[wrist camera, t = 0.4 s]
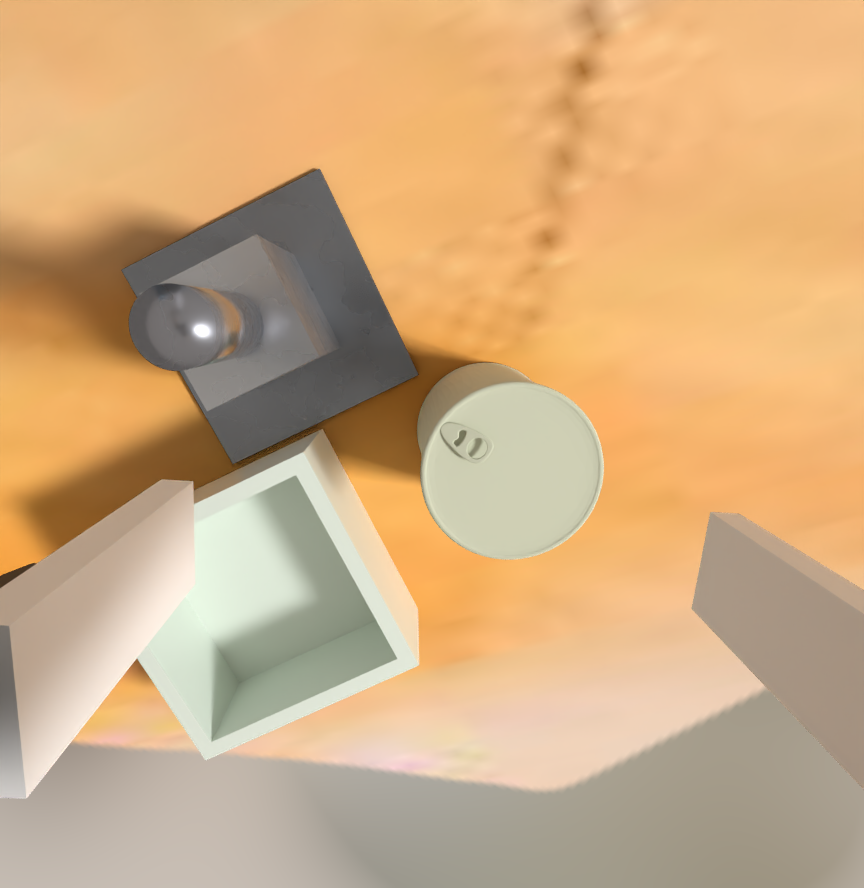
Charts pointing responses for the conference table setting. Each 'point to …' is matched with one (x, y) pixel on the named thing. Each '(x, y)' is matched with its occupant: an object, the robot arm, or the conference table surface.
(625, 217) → the conference table surface
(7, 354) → the conference table surface
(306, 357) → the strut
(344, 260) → the stud plate
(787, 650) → the robot arm
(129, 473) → the conference table surface
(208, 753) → the bin
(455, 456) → the can
